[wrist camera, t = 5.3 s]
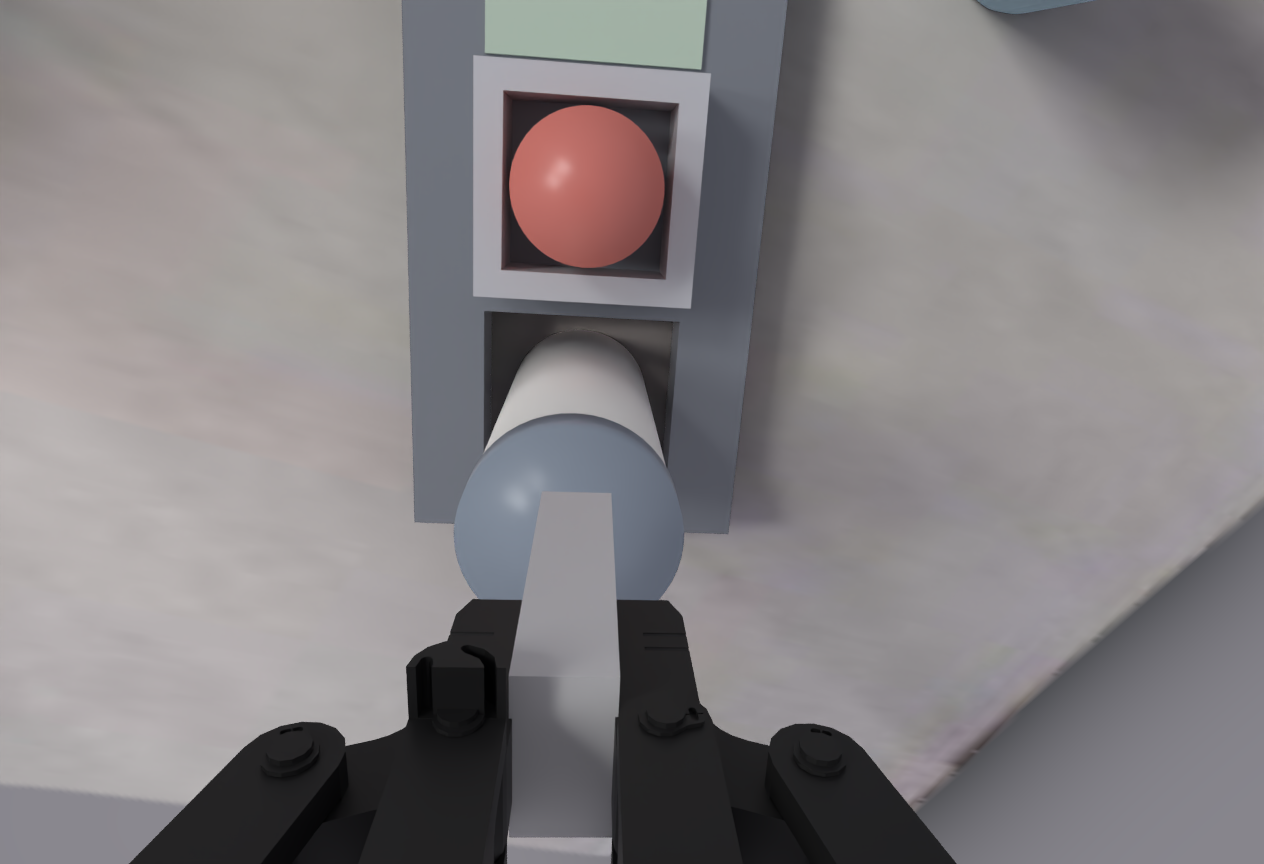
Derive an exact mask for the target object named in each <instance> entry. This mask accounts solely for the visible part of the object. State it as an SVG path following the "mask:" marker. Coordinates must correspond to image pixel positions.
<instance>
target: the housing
mask: <svg viewBox="0 0 1264 864" xmlns="http://www.w3.org/2000/svg"><path fill="white" fill-rule="evenodd" d="M787 3H788V0H402V31H403V72H404V112H405V153H406V193H407V234H408V275H409V315H410V356H411V396H412V437H413V477H414V518H415V522H424V523H450V524H455V517H456V512H457V508H458V505H459V502H460V499H461V497H462V494H463V492H464V489H465V487H466V485H467V482H468V480H469V478H470V475H471V473H472V471H473V469H474V468H475V466H476V464H477V462H478V461H479V459H480V458H481V457H482V455H483V453H484V451H485V448H486V446H487V444H488V441H489V439H490V436H491V376H492V311H494V312H512V313H530V314H548V315H566V316H584V317H602V318H620V319H638V320H656V321H673V328H672V341H671V353H670V366H669V378H668V391H667V403H666V416H665V428H664V441H663V457H664V461H665V465H666V467H667V469H668V471H669V473H670V476H671V478H672V480H673V483H674V487H675V490H676V494H677V498H678V501H679V505H680V509H681V513H682V517H683V525H684V532H687V533H714V534H728V532H729V523H730V514H731V505H732V496H733V487H734V478H735V469H736V460H737V451H738V442H739V433H740V424H741V415H742V406H743V397H744V388H745V379H746V370H747V361H748V353H749V344H750V335H751V326H752V317H753V308H754V299H755V290H756V281H757V272H758V263H759V254H760V245H761V236H762V227H763V218H764V209H765V200H766V191H767V182H768V173H769V164H770V155H771V146H772V137H773V128H774V119H775V110H776V101H777V92H778V83H779V74H780V65H781V56H782V48H783V39H784V30H785V21H786V12H787ZM579 105H592V106H599V107H604V108H607V109H610V110H613V111H615V112H618V113H620V114H622V115H623V116H625V117H627V118H628V119H630V120H631V121H632V122H633V123H635V124H636V125H637V126H638V127H639V128H640V129H641V130H642V131H643V132H644V133H645V134H646V136H647V137H648V138H649V140H650V141H651V143H652V144H653V146H654V148H655V150H656V152H657V154H658V157H659V159H660V162H661V166H662V170H663V175H664V201H663V206H662V210H661V214H660V217H659V219H658V222H657V224H656V226H655V228H654V229H653V231H652V233H651V234H650V236H649V237H648V238H647V240H646V241H645V242H644V243H643V244H642V245H641V246H640V247H639V248H638V249H637V250H636V251H635V252H633V253H632V254H631V255H629V256H628V257H626V258H624V259H623V260H620V261H618V262H616V263H613V264H610V265H607V266H603V267H596V268H581V267H574V266H570V265H566V264H563V263H561V262H558V261H556V260H554V259H552V258H550V257H549V256H547V255H545V254H544V253H543V252H541V251H540V250H539V249H538V248H537V247H536V246H535V245H534V244H533V243H531V241H530V240H529V239H528V238H527V236H526V235H525V234H524V232H523V231H522V229H521V227H520V226H519V224H518V221H517V219H516V217H515V215H514V211H513V208H512V205H511V199H510V189H509V180H510V171H511V166H512V162H513V159H514V156H515V153H516V151H517V149H518V147H519V145H520V143H521V142H522V140H523V139H524V137H525V136H526V134H527V133H528V132H529V131H530V130H531V129H532V128H533V126H535V125H536V124H537V123H538V122H539V121H541V120H542V119H543V118H545V117H546V116H548V115H550V114H552V113H554V112H556V111H558V110H561V109H564V108H568V107H572V106H579Z"/></svg>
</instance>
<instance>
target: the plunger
mask: <svg viewBox="0 0 1264 864" xmlns="http://www.w3.org/2000/svg"><path fill="white" fill-rule="evenodd" d="M509 189H510V199H511V205H512V208H513V211H514V215H515V217H516V219H517V221H518V224H519V226H520V227H521V229H522V231H523V232H524V234H525V235H526V236H527V238H528V239H529V240H530V241H531V243H533V244H534V245H535V246H536V247H537V248H538V249H539V250H540V251H541V252H543V253H544V254H545V255H547V256H549V257H550V258H552V259H554V260H556V261H558V262H561V263H563V264H566V265H570V266H574V267H581V268H596V267H603V266H607V265H610V264H613V263H616V262H618V261H620V260H623V259H624V258H626V257H628V256H629V255H631V254H632V253H633V252H635V251H636V250H637V249H638V248H639V247H640V246H641V245H642V244H643V243H644V242H645V241H646V240H647V238H648V237H649V236H650V234H651V233H652V231H653V229H654V228H655V226H656V224H657V222H658V219H659V217H660V214H661V210H662V206H663V201H664V175H663V170H662V166H661V162H660V159H659V157H658V154H657V152H656V150H655V148H654V146H653V144H652V143H651V141H650V140H649V138H648V137H647V136H646V134H645V133H644V132H643V131H642V130H641V129H640V128H639V127H638V126H637V125H636V124H635V123H633V122H632V121H631V120H630V119H628V118H627V117H625V116H623V115H622V114H620V113H618V112H615V111H613V110H610V109H607V108H604V107H599V106H592V105H579V106H572V107H568V108H564V109H561V110H558V111H556V112H554V113H552V114H550V115H548V116H546V117H545V118H543V119H542V120H541V121H539V122H538V123H537V124H536V125H535V126H533V128H532V129H531V130H530V131H529V132H528V133H527V134H526V136H525V137H524V139H523V140H522V142H521V143H520V145H519V147H518V149H517V151H516V153H515V156H514V159H513V162H512V166H511V171H510V180H509Z"/></svg>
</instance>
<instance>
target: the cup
mask: <svg viewBox="0 0 1264 864" xmlns="http://www.w3.org/2000/svg"><path fill="white" fill-rule="evenodd" d="M977 1H978V2H979V3H981V4H982V5H983V6H985V7H986V8H988V9H991V10H994V11H999V12H1004V13H1008V14H1023V13H1029V12H1035V11H1040V10H1046V9H1051V8H1057V7H1062V6H1067V5H1073V4H1078V3H1084V2H1089V1H1095V0H977Z"/></svg>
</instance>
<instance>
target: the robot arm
mask: <svg viewBox="0 0 1264 864" xmlns="http://www.w3.org/2000/svg"><path fill="white" fill-rule="evenodd" d="M688 648H689V647H688V642H687V637H686V632H685V627H684V622H683V617H682V615H681V614H680V613H679V612H678V611H677V610H676V609H675V608H674V607H673V605H672V604H671V603H670V602H669V601H667V600H616V580H615V559H614V539H613V518H612V497H611V493H589V492H550V491H542V494H541V499H540V505H539V510H538V516H537V521H536V527H535V533H534V538H533V544H532V549H531V555H530V560H529V566H528V571H527V577H526V583H525V588H524V594H523V599H522V600H496V599H473V600H471V601H470V602H469V603H468V604H467V605H466V606H465V607H464V608H463V609H461V610H460V611H459V612H458V613H457V614H456V617H455V620H454V623H453V626H452V629H451V632H450V635H449V638H448V641H445V642H442V643H439V644H436V645H433V646H430V647H427V648H426V649H424V650H423V651H421V652H419V653H418V654H416V655H415V656H414V657H413V658H412V660H411V661H410V662H409V664H408V665H407V666H406V673H407V693H408V713H409V720H408V723H407V725H406V727H405V728H403V729H402V730H400V731H397V732H395V733H393V734H391V735H389V736H386V737H382V738H379V739H376V740H372V741H367V742H363V743H358V744H353V745H349V746H345V738H344V737H343V736H342V734H341V733H340V732H339V731H338V730H337V729H336V728H334V727H331V726H329V725H326V724H323V723H317V722H299V723H294V724H289V725H284V726H280V727H278V728H275V729H273V730H271V731H268V732H266V733H264V734H262V735H260V736H259V737H257V738H256V739H255V740H253V741H252V742H251V743H249V744H248V745H247V746H245V747H244V748H243V749H242V750H241V751H240V752H239V753H238V754H237V755H236V756H235V757H234V758H233V759H232V760H231V761H230V762H229V763H228V764H227V765H226V766H225V767H224V768H223V769H222V770H221V771H220V772H219V773H218V774H217V775H216V776H215V777H214V778H213V779H212V780H211V781H210V782H209V784H208V785H207V786H206V787H205V788H204V789H203V790H202V791H201V792H200V793H199V794H198V795H197V796H196V797H195V798H194V799H193V800H192V801H191V802H190V803H189V804H188V805H187V806H186V807H185V808H184V809H183V810H182V811H181V812H180V813H179V814H178V815H177V816H176V817H175V818H174V819H173V820H172V821H171V822H170V823H169V824H168V825H167V826H166V827H165V828H164V829H163V830H162V831H161V832H160V833H159V834H158V835H157V836H156V837H155V838H154V839H153V840H152V841H151V842H150V843H149V844H148V845H147V846H146V847H145V848H144V849H143V850H142V851H141V852H140V853H139V854H138V855H137V856H136V857H135V858H134V860H132V861H131V862H130V863H129V864H507V836H508V829H509V837H612V854H611V864H956V863H955V861H954V860H953V859H952V857H951V856H950V855H949V854H948V853H947V851H946V850H945V849H944V848H943V846H941V844H940V843H939V841H938V840H937V839H936V838H935V837H934V835H933V834H932V833H931V832H930V830H929V829H928V828H927V827H926V826H925V824H924V823H923V822H922V821H921V820H920V818H919V817H918V816H917V814H916V813H915V812H914V811H913V810H912V808H911V807H910V806H909V805H908V803H907V802H906V801H905V800H904V798H903V797H902V796H901V795H900V794H899V792H898V791H897V790H896V789H895V787H894V786H893V785H892V784H891V782H890V781H889V780H888V779H887V778H886V776H885V775H884V774H883V773H882V771H881V770H880V769H879V768H878V766H877V765H876V764H875V763H874V762H873V760H872V759H871V758H870V757H869V755H868V754H867V753H866V752H865V750H864V749H863V748H862V747H861V746H859V745H858V744H857V743H856V742H855V741H854V740H853V739H852V738H850V737H849V736H847V735H845V734H843V733H841V732H839V731H837V730H835V729H833V728H830V727H825V726H821V725H817V724H794V725H791V726H788V727H785V728H782V729H780V730H779V731H778V732H777V733H776V734H775V735H774V736H773V737H772V738H771V741H770V746H768V745H763V744H759V743H755V742H751V741H747V740H744V739H741V738H738V737H735V736H732V735H730V734H728V733H726V732H724V731H723V730H721V729H719V728H718V727H717V726H715V725H714V724H713V721H712V719H711V717H710V715H709V713H708V711H707V709H706V708H705V707H703V706H702V705H701V704H700V702H699V697H698V692H697V687H696V682H695V677H694V672H693V667H692V662H691V657H690V652H689V650H688Z"/></svg>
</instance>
